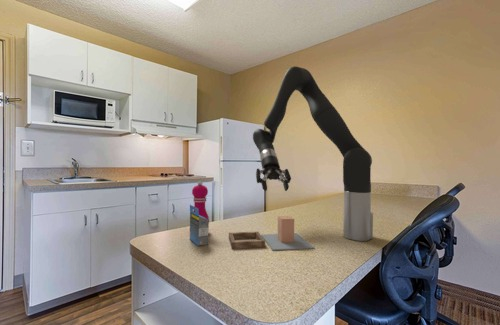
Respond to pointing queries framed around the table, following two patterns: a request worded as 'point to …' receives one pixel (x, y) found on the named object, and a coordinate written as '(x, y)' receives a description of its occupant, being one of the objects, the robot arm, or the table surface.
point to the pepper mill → (200, 199)
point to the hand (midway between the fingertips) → (276, 189)
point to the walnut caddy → (246, 244)
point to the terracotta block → (285, 229)
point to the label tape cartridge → (198, 227)
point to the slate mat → (286, 243)
